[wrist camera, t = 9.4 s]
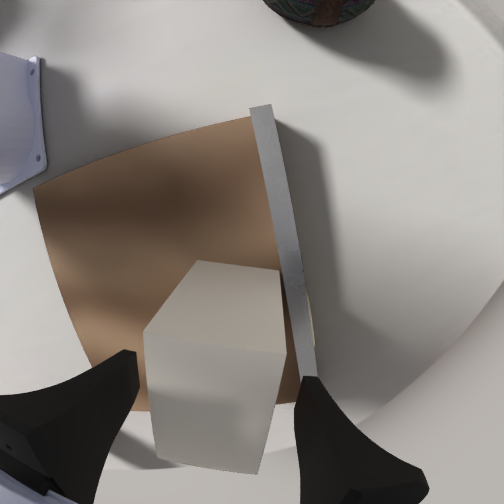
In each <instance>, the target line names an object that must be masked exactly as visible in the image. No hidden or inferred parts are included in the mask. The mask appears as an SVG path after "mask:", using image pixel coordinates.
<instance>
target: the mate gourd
mask: <svg viewBox="0 0 504 504" xmlns="http://www.w3.org/2000/svg"><path fill="white" fill-rule="evenodd" d="M263 1H264V2H265V4H266V5H267V6H268V7H269V8H271V9H272V10H273V11H274V12H276V13H277V14H278V15H280V16H282V17H284V18H286V19H289V20H291V21H295V22H298V23H302V24H306V25H309V26H312V27H322V26H324V27H329V26H330V27H332V26H334V25H337V24H339V23H344V22H347V21H349V20H351V19H353V18H355V17H356V16H358V15H360V14H361V13H362V12H364V11H366V10H367V9H368V8H369V7H370V6H371V5H372V4H373V3H374V1H375V0H263Z"/></svg>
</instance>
